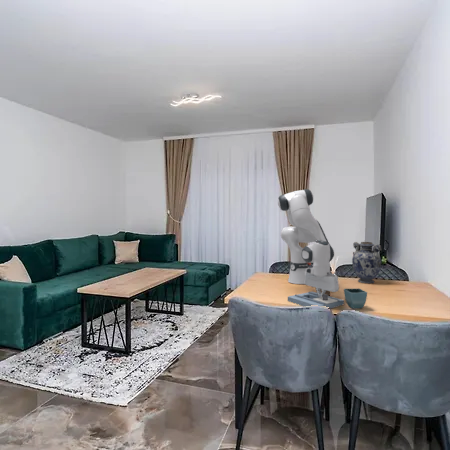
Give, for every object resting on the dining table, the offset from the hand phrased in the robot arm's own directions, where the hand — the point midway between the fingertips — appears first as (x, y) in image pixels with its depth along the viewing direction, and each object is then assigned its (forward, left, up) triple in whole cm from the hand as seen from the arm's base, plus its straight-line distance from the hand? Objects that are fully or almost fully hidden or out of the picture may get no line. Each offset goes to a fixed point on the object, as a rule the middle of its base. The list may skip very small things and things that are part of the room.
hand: (321, 296), depth 175 cm
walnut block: (-15, -10, -4) cm, 19 cm away
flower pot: (-11, +13, -5) cm, 18 cm away
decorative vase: (-70, -19, -4) cm, 73 cm away
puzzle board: (0, -4, -4) cm, 6 cm away
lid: (0, +3, -2) cm, 3 cm away
